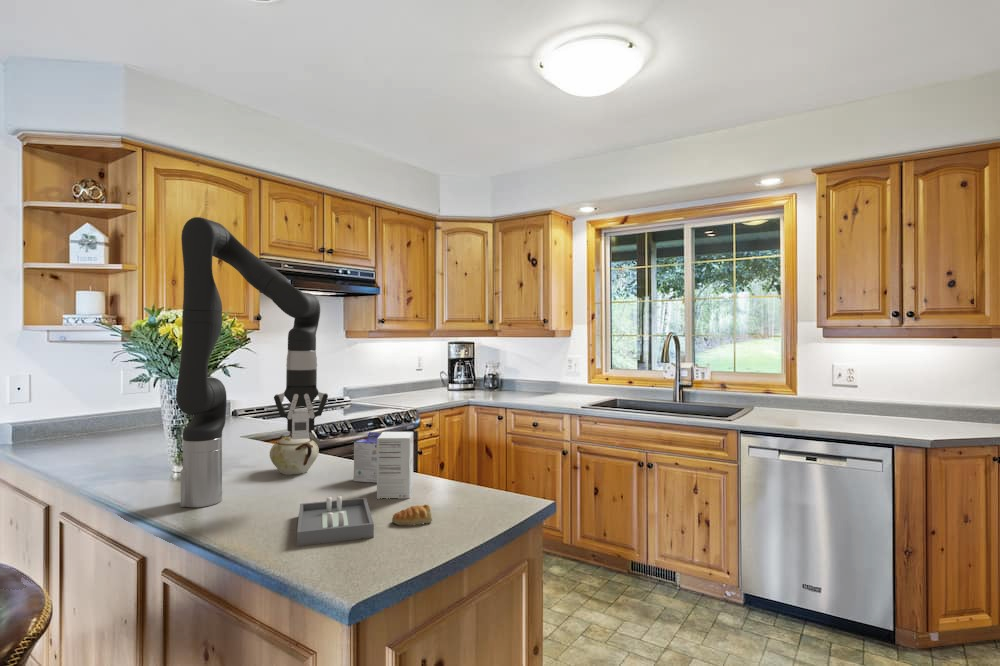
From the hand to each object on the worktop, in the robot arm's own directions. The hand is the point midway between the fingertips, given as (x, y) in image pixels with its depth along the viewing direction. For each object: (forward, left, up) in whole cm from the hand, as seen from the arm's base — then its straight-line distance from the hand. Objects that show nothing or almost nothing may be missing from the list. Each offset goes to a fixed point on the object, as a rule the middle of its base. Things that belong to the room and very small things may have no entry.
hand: (301, 432), depth 143 cm
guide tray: (+8, -19, -19) cm, 28 cm away
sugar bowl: (-3, +36, -19) cm, 41 cm away
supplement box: (+25, +2, -19) cm, 32 cm away
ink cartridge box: (+20, +18, -19) cm, 33 cm away
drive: (0, 0, -1) cm, 1 cm away
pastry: (+27, -22, -20) cm, 40 cm away
